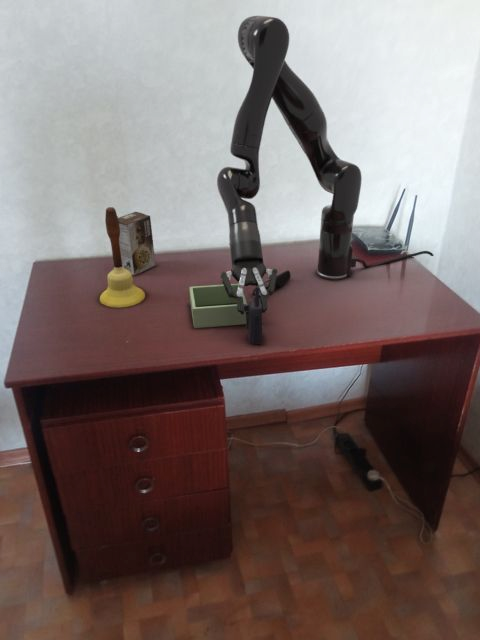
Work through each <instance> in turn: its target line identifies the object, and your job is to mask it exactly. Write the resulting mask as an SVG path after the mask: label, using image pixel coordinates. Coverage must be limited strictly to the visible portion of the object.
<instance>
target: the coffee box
mask: <svg viewBox="0 0 480 640" xmlns="http://www.w3.org/2000/svg"><path fill="white" fill-rule="evenodd" d="M118 220H119V226H120V236H119V244H120V252H121V259H122V266H123V268H124V269H126V270H128V271H130V272H131V274H132V276H136V275H139V274H141V273H142V272H145V271H147V270H149V269H151V268H153V267H155V266H156V257H155V248H154V240H153V230H152V220H151V215H148V214H145V213H143V212H141V211H140V212H139V211H133V212H130V213H127V214H125V215H122V216H119V217H118Z"/></svg>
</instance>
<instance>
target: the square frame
mask: <svg viewBox="0 0 480 640" xmlns="http://www.w3.org/2000/svg"><path fill="white" fill-rule="evenodd" d="M238 285H239V283H231V286H232V288H233V290H234V291H236V292H237V290H238ZM188 288H189V302H190V303H189V305H190V310H191V317H192V325H193V329H201V328H213V327H228V326H239V325H246V313H245V311H244V314H242V315H241V312H238V310H237V301H236V299H235V298H230V297H228V294H227V292H226V289H225V287H224V285H223V284H210V285H196V286H189V287H188ZM242 297H243V302H244V304H246V305H248V302H247V300H246V297H245V294H244V291H243V292H242Z"/></svg>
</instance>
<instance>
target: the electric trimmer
mask: <svg viewBox="0 0 480 640" xmlns="http://www.w3.org/2000/svg"><path fill="white" fill-rule="evenodd" d="M290 279H291V271H290V270H287V269H286V270H285V271H283V272H282V273H279V274H277V276H276V282H275V288H280V287H281V286H283V285H284V284H285V283H286V282H287V281H288V280H290ZM269 282H270V279H268V280H266V281H263V283H264V287H265V289H266V290H267V289H268V288H269ZM254 296H255V288H254V289H253V291H252V297H254ZM260 298H261V296H260V294H259V300H260Z"/></svg>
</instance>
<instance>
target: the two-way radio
mask: <svg viewBox="0 0 480 640" xmlns="http://www.w3.org/2000/svg"><path fill="white" fill-rule="evenodd" d="M254 287H255V288H254V289H255V296H253V300H251V301H249V303H248V304H247V305H246V304H244V311H245V313H246V324H245V327H246V329H247V338H248V339H247V340H248V342H249V344H252V345H260V344H261V343H262V341H263V313H262V303H261V301H260V299H259V287H258V286H254Z"/></svg>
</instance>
